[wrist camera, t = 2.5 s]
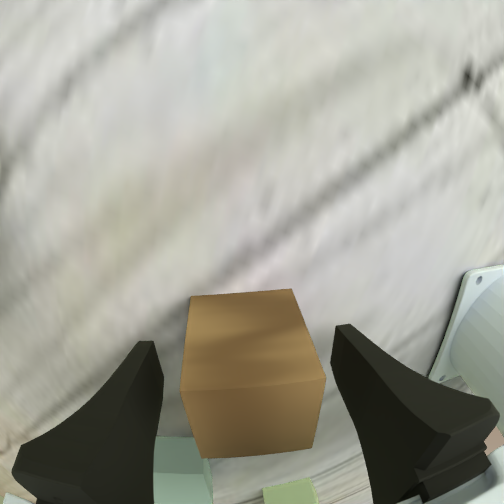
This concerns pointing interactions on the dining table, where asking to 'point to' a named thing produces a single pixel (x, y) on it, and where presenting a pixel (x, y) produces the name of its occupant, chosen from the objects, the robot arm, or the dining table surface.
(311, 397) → the walnut block
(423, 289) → the dining table surface
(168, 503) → the mint green base block
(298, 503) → the sage block
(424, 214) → the dining table surface
